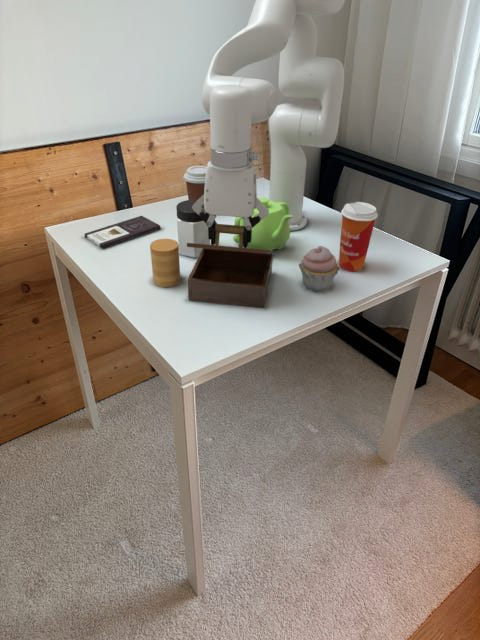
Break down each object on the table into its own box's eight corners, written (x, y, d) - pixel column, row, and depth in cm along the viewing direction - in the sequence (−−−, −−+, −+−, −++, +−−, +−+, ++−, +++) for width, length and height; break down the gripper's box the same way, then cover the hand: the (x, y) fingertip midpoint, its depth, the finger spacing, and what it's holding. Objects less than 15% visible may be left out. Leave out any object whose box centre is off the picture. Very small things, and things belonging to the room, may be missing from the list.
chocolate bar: (160, 225, 139) (102, 245, 129) (160, 228, 139) (102, 248, 129) (141, 215, 144) (84, 233, 134) (141, 218, 145) (85, 236, 134)
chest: (264, 308, 108) (265, 287, 105) (188, 300, 110) (187, 279, 107) (271, 273, 120) (273, 253, 117) (203, 267, 122) (203, 247, 119)
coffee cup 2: (327, 261, 126) (335, 203, 117) (355, 255, 128) (364, 198, 120) (346, 276, 119) (355, 217, 111) (375, 270, 122) (386, 212, 114)
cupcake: (289, 278, 118) (292, 239, 113) (324, 272, 121) (329, 233, 115) (307, 298, 111) (312, 258, 106) (344, 291, 114) (351, 251, 108)
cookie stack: (160, 271, 120) (157, 236, 115) (184, 276, 118) (182, 241, 113) (148, 284, 115) (144, 248, 110) (173, 289, 114) (170, 253, 108)
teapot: (299, 238, 136) (303, 193, 129) (288, 262, 125) (292, 214, 118) (241, 230, 139) (242, 186, 132) (226, 253, 128) (226, 206, 121)
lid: (267, 253, 101) (269, 227, 101) (186, 246, 103) (188, 221, 103) (273, 253, 117) (275, 230, 116) (202, 247, 119) (204, 225, 118)
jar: (187, 261, 125) (184, 215, 118) (171, 248, 130) (168, 203, 123) (218, 252, 129) (217, 207, 122) (202, 240, 134) (200, 196, 127)
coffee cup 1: (206, 201, 156) (205, 162, 149) (221, 211, 150) (220, 171, 143) (180, 206, 152) (177, 167, 146) (193, 217, 146) (191, 176, 139)
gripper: (278, 154, 97) (272, 239, 108) (190, 148, 100) (193, 232, 110) (274, 166, 91) (269, 255, 102) (180, 160, 93) (185, 248, 104)
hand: (229, 243), depth 106 cm, fingers closed on lid, 6 cm apart
